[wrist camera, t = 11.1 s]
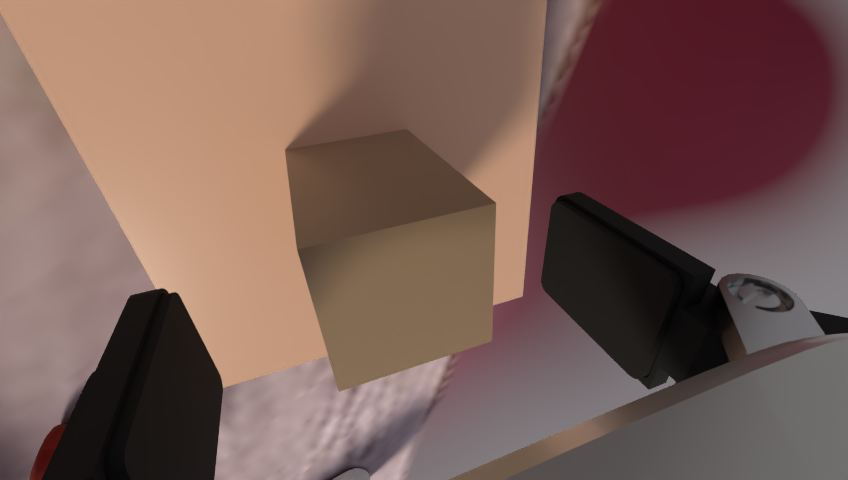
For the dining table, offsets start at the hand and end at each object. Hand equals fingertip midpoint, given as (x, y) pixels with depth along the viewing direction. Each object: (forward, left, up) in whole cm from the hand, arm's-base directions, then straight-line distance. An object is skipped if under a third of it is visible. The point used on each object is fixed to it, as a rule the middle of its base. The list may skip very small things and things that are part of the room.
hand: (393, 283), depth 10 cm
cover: (0, 0, -7) cm, 7 cm away
